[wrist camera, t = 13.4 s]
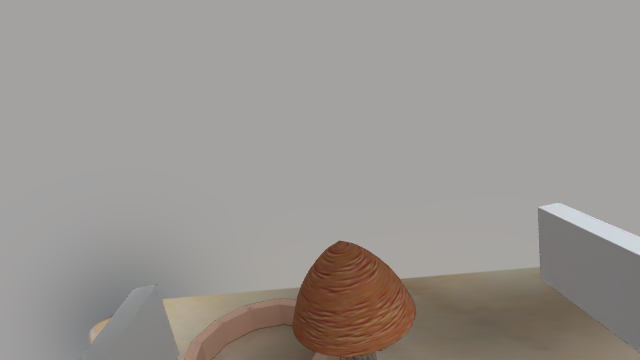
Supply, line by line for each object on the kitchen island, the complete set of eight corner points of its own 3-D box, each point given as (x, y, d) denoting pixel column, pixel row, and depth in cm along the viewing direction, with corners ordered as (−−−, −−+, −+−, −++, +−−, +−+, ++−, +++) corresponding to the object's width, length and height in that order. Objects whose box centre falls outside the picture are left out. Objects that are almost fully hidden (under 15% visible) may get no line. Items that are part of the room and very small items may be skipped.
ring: (360, 328, 40) (357, 306, 39) (294, 449, 28) (288, 421, 27) (248, 312, 46) (244, 293, 46) (154, 405, 34) (147, 381, 33)
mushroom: (320, 505, 23) (270, 281, 20) (317, 401, 31) (280, 228, 27) (451, 482, 23) (422, 254, 20) (414, 384, 31) (389, 208, 27)
